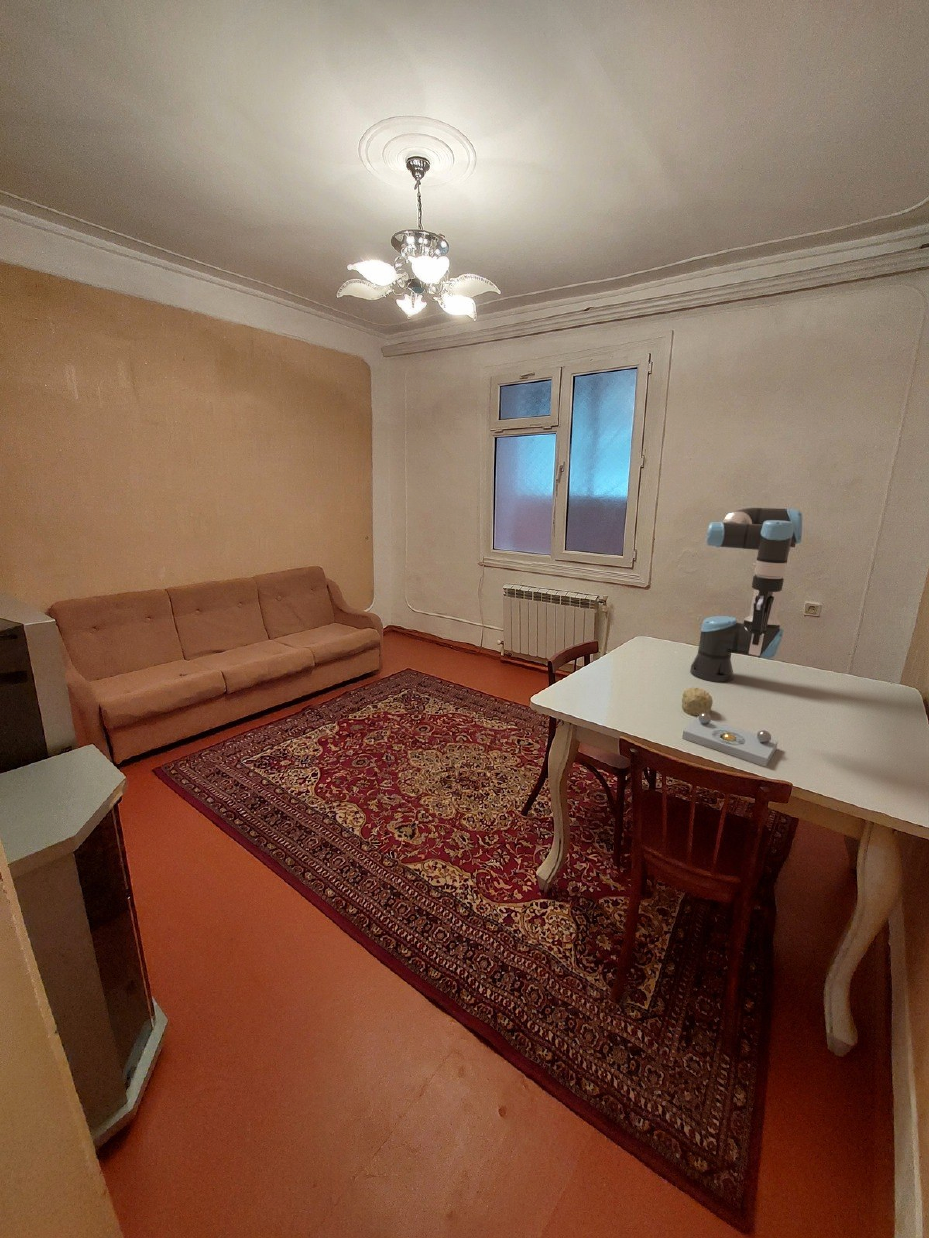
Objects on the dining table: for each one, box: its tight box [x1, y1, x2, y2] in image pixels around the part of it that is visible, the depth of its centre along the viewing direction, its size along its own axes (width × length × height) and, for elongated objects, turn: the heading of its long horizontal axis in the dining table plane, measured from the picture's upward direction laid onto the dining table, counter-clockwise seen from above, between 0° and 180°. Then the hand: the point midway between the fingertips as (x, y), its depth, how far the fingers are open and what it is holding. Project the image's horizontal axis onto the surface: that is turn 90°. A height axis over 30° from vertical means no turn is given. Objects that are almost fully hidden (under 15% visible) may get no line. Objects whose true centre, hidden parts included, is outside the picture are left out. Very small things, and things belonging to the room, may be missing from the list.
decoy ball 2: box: [756, 730, 772, 743], centre depth 142 cm, size 4×4×4 cm
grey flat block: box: [682, 716, 779, 768], centre depth 147 cm, size 13×22×2 cm, turn 48°
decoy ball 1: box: [699, 713, 712, 724], centre depth 153 cm, size 4×4×4 cm
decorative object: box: [681, 687, 713, 717], centre depth 167 cm, size 9×10×10 cm
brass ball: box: [722, 733, 735, 742], centre depth 146 cm, size 4×4×4 cm
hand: (754, 654), depth 149 cm, fingers closed
